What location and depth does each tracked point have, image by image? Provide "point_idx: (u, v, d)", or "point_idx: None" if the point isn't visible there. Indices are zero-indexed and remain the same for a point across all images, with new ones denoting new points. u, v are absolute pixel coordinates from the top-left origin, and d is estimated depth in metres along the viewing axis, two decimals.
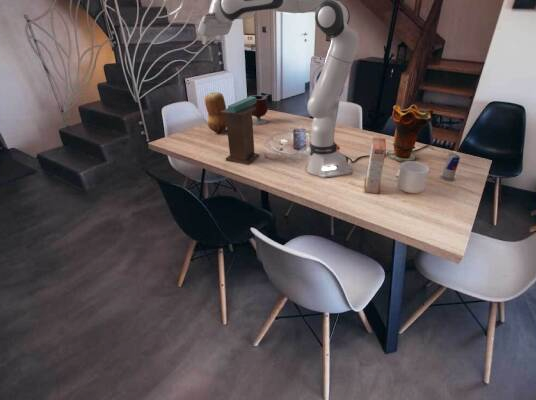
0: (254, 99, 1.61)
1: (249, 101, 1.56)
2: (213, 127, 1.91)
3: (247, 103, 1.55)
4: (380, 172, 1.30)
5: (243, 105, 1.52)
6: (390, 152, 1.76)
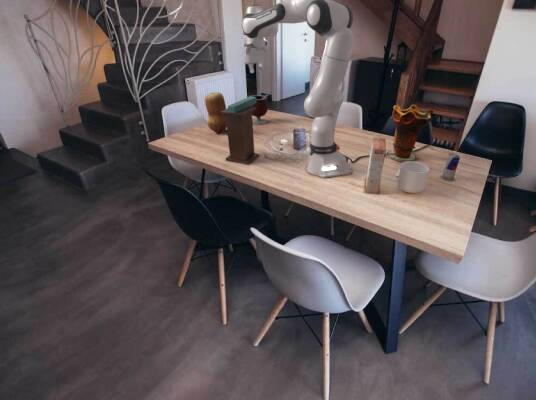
0: (254, 99, 1.61)
1: (249, 101, 1.56)
2: (213, 127, 1.91)
3: (247, 103, 1.55)
4: (380, 172, 1.30)
5: (243, 105, 1.52)
6: (390, 152, 1.76)
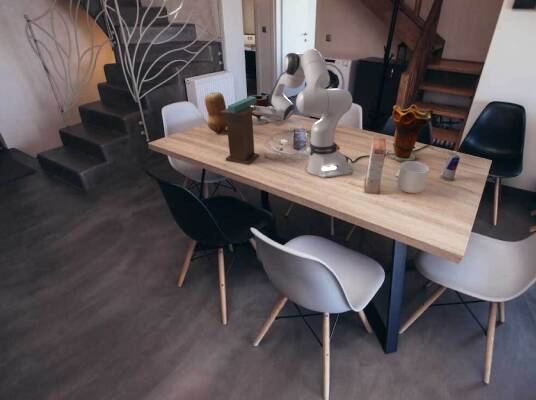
0: (254, 99, 1.61)
1: (249, 101, 1.56)
2: (213, 127, 1.91)
3: (247, 103, 1.55)
4: (380, 172, 1.30)
5: (243, 105, 1.52)
6: (390, 152, 1.76)
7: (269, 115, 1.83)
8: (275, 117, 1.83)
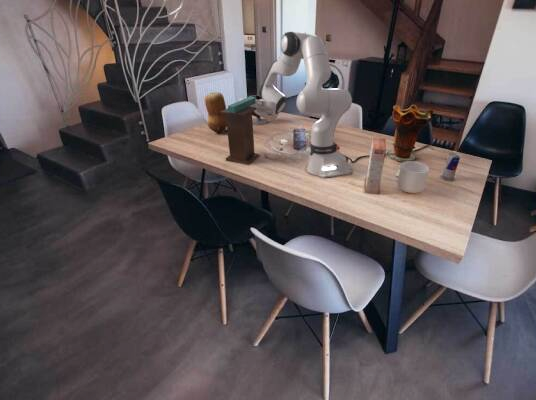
0: None
1: (249, 101, 1.56)
2: (213, 127, 1.91)
3: (247, 103, 1.55)
4: (380, 172, 1.30)
5: (243, 105, 1.52)
6: (390, 152, 1.76)
7: (260, 108, 1.70)
8: (266, 111, 1.70)
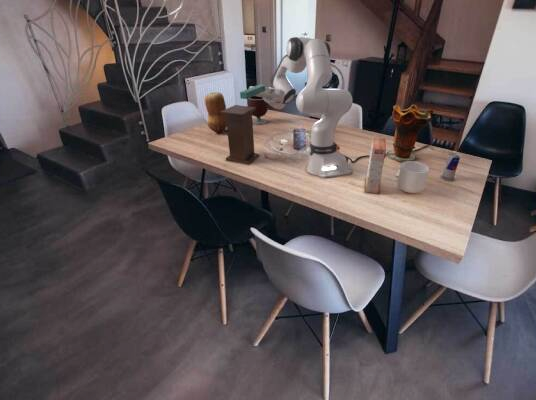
0: None
1: (259, 88, 1.64)
2: (213, 127, 1.91)
3: (257, 90, 1.62)
4: (380, 172, 1.30)
5: (254, 92, 1.59)
6: (390, 152, 1.76)
7: (269, 96, 1.78)
8: (275, 98, 1.77)
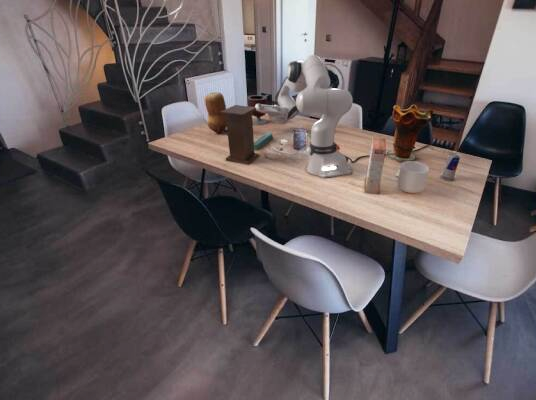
0: (270, 135, 1.90)
1: (267, 138, 1.86)
2: (213, 127, 1.91)
3: (265, 140, 1.84)
4: (380, 172, 1.30)
5: (263, 142, 1.81)
6: (390, 152, 1.76)
7: (274, 113, 1.88)
8: (279, 115, 1.88)
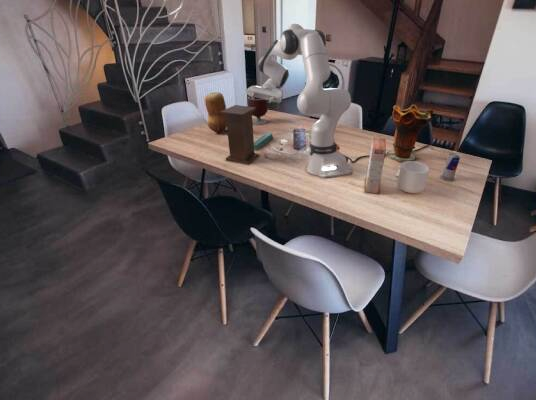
0: (270, 135, 1.90)
1: (267, 138, 1.86)
2: (213, 127, 1.91)
3: (265, 140, 1.84)
4: (380, 172, 1.30)
5: (263, 142, 1.81)
6: (390, 152, 1.76)
7: None
8: None
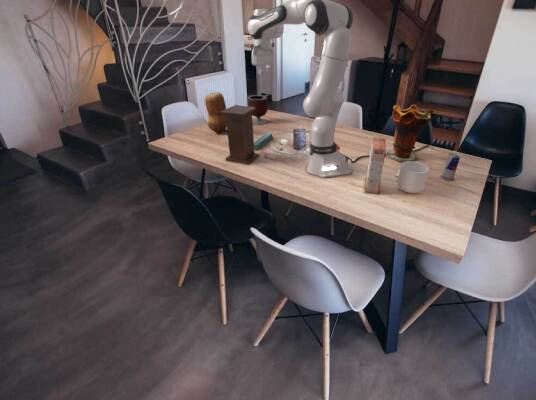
0: (270, 135, 1.90)
1: (267, 138, 1.86)
2: (213, 127, 1.91)
3: (265, 140, 1.84)
4: (380, 172, 1.30)
5: (263, 142, 1.81)
6: (390, 152, 1.76)
7: None
8: None
